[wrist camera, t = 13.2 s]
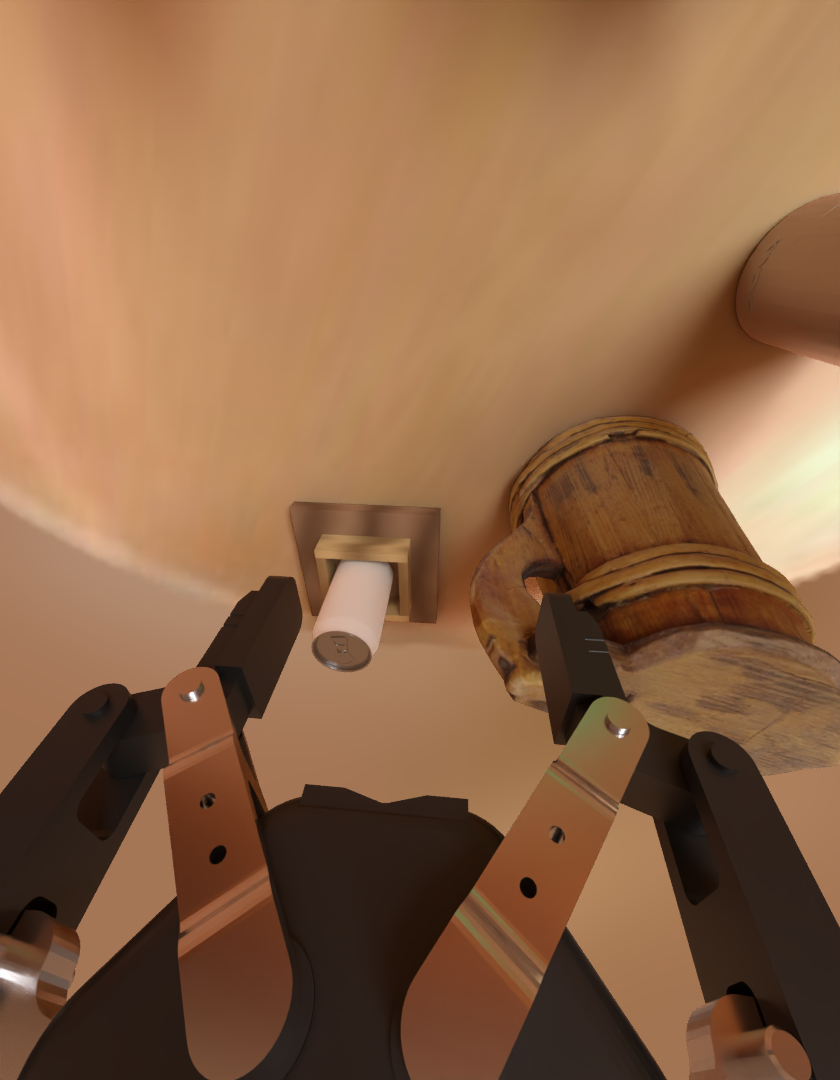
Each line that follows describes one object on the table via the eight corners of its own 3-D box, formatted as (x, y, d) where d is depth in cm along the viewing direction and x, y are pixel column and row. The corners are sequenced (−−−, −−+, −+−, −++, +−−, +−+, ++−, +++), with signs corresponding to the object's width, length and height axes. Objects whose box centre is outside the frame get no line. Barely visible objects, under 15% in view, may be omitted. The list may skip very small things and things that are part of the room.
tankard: (647, 583, 47) (789, 834, 27) (447, 546, 47) (436, 775, 26) (745, 434, 37) (1098, 661, 16) (488, 384, 36) (522, 555, 16)
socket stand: (440, 508, 44) (438, 531, 40) (436, 615, 53) (434, 641, 49) (294, 501, 45) (279, 523, 41) (315, 607, 54) (304, 633, 50)
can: (344, 591, 50) (315, 674, 40) (333, 548, 46) (299, 628, 36) (396, 591, 49) (380, 675, 39) (390, 547, 45) (370, 628, 36)
